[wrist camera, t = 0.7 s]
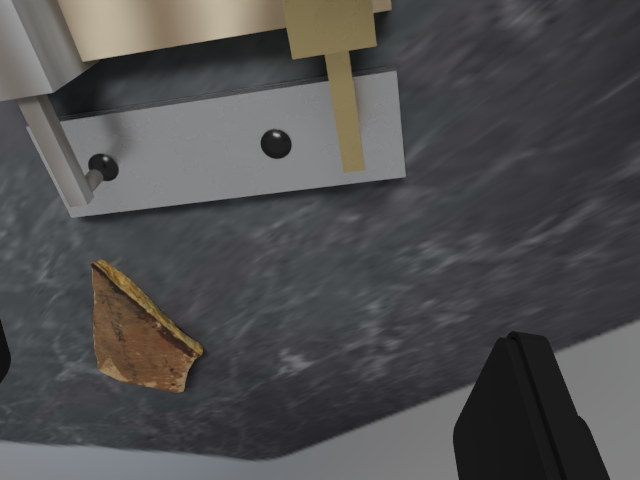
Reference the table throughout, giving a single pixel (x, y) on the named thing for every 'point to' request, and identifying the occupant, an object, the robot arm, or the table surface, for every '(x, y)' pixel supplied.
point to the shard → (137, 335)
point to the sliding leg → (335, 58)
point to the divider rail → (104, 54)
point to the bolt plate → (232, 143)
